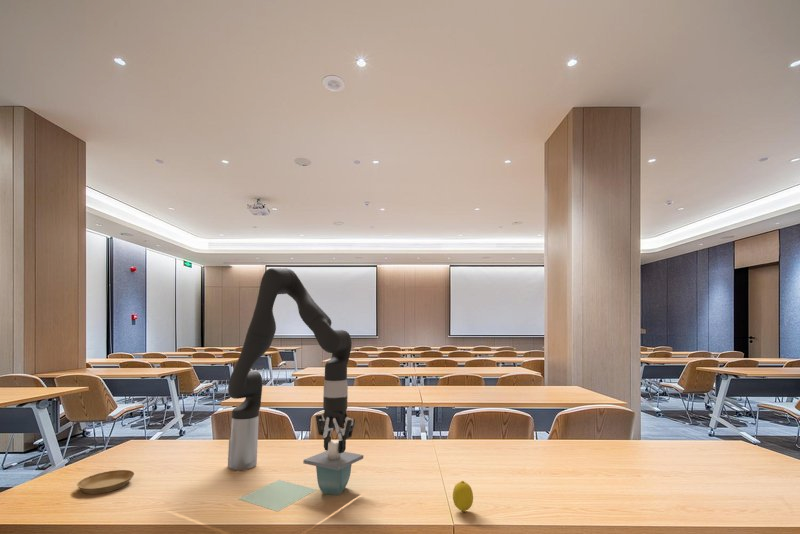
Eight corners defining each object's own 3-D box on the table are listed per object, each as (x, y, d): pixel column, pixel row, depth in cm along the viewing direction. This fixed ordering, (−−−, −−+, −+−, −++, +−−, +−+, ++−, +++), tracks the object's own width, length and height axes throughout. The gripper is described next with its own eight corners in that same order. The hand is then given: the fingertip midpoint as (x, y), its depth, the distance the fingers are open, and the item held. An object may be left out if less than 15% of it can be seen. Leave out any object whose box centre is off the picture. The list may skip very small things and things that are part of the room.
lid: (303, 463, 120) (304, 444, 121) (330, 452, 131) (331, 435, 132) (337, 470, 114) (338, 450, 115) (363, 458, 125) (363, 440, 126)
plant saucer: (115, 496, 120) (116, 487, 120) (63, 498, 119) (64, 488, 119) (143, 477, 134) (143, 469, 135) (97, 478, 133) (98, 470, 134)
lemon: (451, 507, 111) (450, 477, 112) (470, 506, 111) (469, 476, 113) (455, 517, 106) (454, 485, 107) (475, 516, 106) (475, 484, 107)
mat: (237, 501, 116) (237, 498, 116) (279, 481, 130) (279, 479, 130) (277, 513, 108) (277, 511, 108) (316, 491, 122) (316, 489, 122)
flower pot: (342, 500, 116) (343, 467, 117) (314, 497, 118) (315, 465, 119) (352, 487, 125) (352, 457, 126) (325, 485, 126) (326, 455, 127)
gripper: (310, 394, 125) (308, 451, 123) (346, 398, 118) (345, 458, 116) (325, 390, 132) (324, 444, 130) (361, 394, 125) (360, 451, 123)
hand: (334, 450), depth 123 cm, fingers open, 4 cm apart
